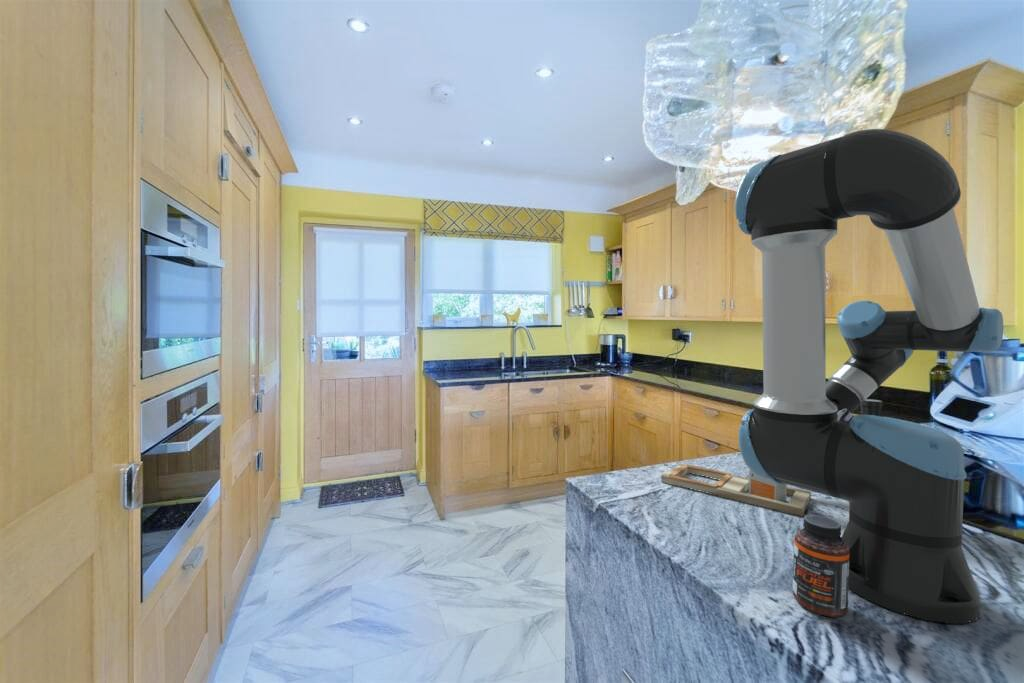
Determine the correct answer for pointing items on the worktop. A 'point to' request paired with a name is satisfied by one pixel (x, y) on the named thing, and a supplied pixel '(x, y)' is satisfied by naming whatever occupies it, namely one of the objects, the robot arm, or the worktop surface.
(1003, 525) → the worktop surface
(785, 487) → the skincare box
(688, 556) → the worktop surface
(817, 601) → the supplement bottle
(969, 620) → the robot arm
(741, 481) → the socket rail
